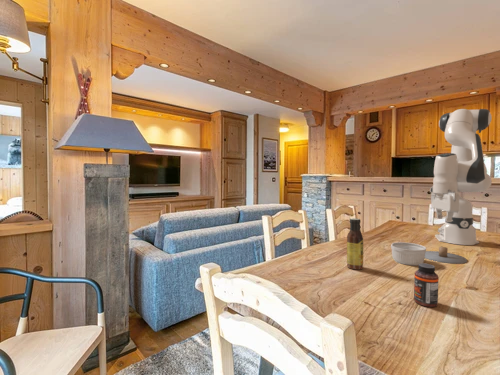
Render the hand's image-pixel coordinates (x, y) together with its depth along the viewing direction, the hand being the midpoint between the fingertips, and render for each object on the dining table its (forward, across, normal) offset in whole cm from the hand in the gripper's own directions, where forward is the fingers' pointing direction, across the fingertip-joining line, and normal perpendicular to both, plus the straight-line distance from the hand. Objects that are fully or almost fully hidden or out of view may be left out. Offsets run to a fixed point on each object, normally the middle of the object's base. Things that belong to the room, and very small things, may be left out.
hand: (443, 220), depth 123 cm
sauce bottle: (+18, -24, +40) cm, 50 cm away
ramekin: (+18, -10, +17) cm, 26 cm away
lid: (+18, 0, 0) cm, 18 cm away
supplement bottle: (+18, -51, +23) cm, 59 cm away
